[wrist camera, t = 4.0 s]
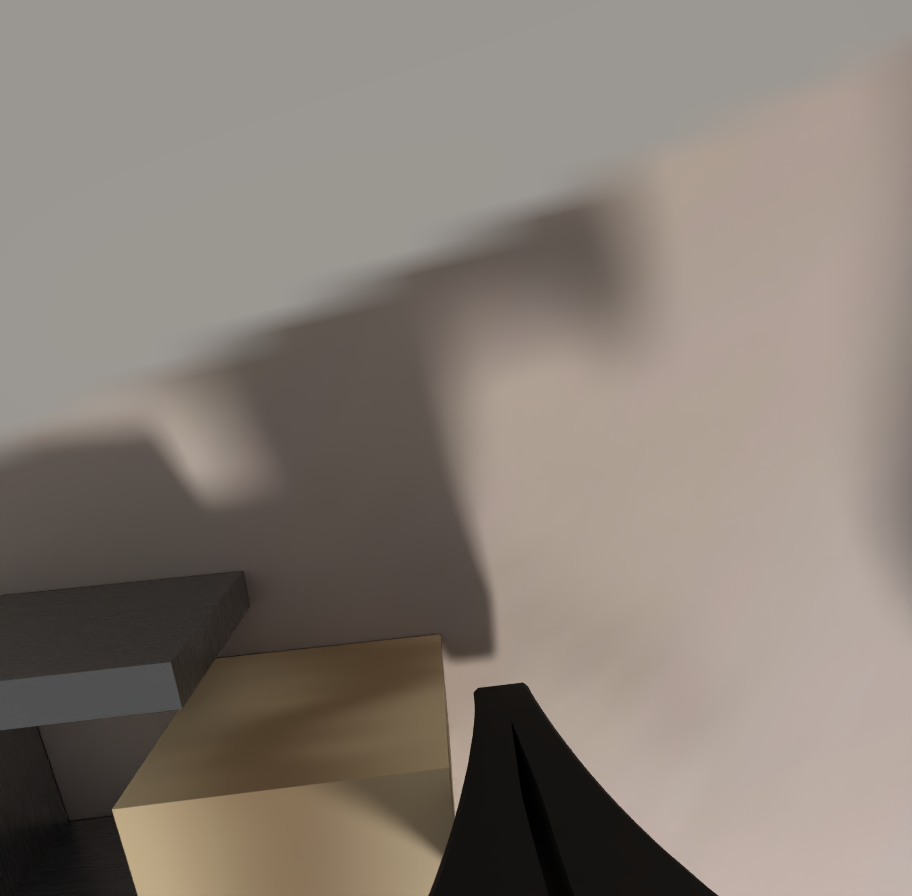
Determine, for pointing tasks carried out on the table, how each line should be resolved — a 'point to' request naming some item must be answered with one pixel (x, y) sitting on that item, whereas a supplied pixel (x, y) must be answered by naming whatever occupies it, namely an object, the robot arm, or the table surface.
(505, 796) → the robot arm
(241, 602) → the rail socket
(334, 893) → the tan block
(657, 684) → the table surface
